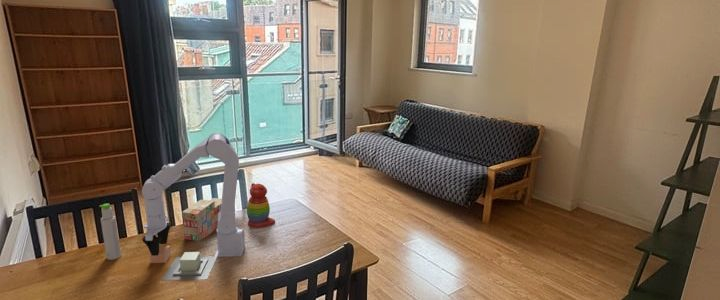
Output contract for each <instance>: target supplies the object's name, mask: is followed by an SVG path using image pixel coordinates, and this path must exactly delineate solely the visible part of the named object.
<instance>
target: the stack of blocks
mask: <svg viewBox="0 0 720 300" xmlns="http://www.w3.org/2000/svg"><path fill="white" fill-rule="evenodd" d="M221 203H222V198H217V197H212V198H211V199H210V200H207V199H199V200H198V201H196V202H195V203H193V204H192V205H191V206H189V207H188V208H186V209H184V210H183V211H182V224H183V226H182V227H183V232H184V234H183V235H184V240H191V241H196V242H197V241H198V242H199V241H201V240H205V238H207V237H208V236H209V235H210V234H212V233H213V231H215V230H217V224H218V218H217V215H218V212H219V211H220V209H221Z"/></svg>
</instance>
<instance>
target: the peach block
mask: <svg viewBox="0 0 720 300" xmlns="http://www.w3.org/2000/svg"><path fill="white" fill-rule="evenodd" d="M148 256H149V262H150V264H163V263H164V264H165V263H167V262H168V260H169V259H170V257H171V256H172V254H171V245H159V255H157V256H152V255H151V253H150V252H149V254H148Z"/></svg>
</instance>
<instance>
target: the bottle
mask: <svg viewBox="0 0 720 300" xmlns="http://www.w3.org/2000/svg"><path fill="white" fill-rule="evenodd" d="M99 208H101V216H102V217H100V224H101V231H102V237H103V243H104V249H105V256H106V259H107V260H111V261H112V260H117V259H118V258H120V257H121V256H122V253H121V251H122V250H121V246H120V239H119V231H118V226H117V220H116V219H117V218H116V215H114V213H113V208H112V207H111V205H110V203H103V204H101V205H99Z"/></svg>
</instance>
